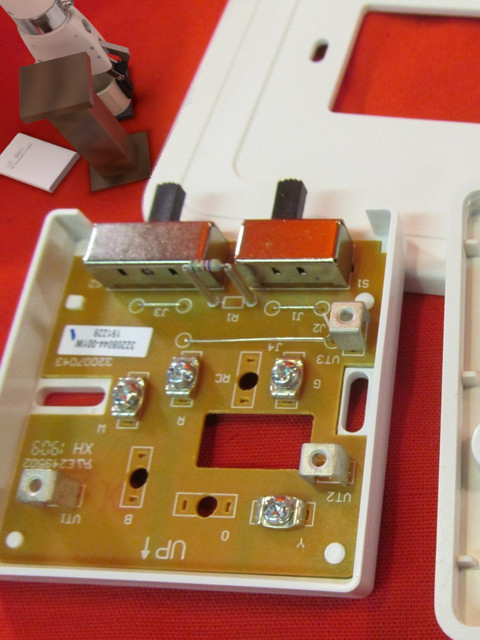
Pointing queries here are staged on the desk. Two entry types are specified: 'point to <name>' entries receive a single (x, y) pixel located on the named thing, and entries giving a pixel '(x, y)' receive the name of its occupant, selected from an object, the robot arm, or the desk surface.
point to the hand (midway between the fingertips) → (107, 98)
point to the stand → (83, 120)
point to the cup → (110, 93)
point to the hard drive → (36, 162)
